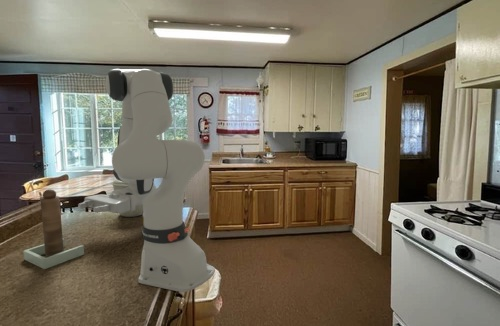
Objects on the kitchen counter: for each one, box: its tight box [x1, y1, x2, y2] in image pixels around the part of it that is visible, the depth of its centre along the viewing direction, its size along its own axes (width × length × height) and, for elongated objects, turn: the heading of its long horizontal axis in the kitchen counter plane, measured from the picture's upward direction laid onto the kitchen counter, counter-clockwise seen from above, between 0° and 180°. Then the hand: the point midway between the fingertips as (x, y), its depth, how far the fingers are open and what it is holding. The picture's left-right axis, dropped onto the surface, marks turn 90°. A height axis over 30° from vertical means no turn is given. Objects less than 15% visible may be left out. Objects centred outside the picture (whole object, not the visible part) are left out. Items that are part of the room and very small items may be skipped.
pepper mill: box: [39, 188, 65, 258], centre depth 93 cm, size 5×5×23 cm
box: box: [22, 238, 85, 270], centre depth 94 cm, size 13×12×3 cm
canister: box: [111, 178, 143, 218], centre depth 140 cm, size 18×18×21 cm
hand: (86, 208), depth 102 cm, fingers open, 8 cm apart
